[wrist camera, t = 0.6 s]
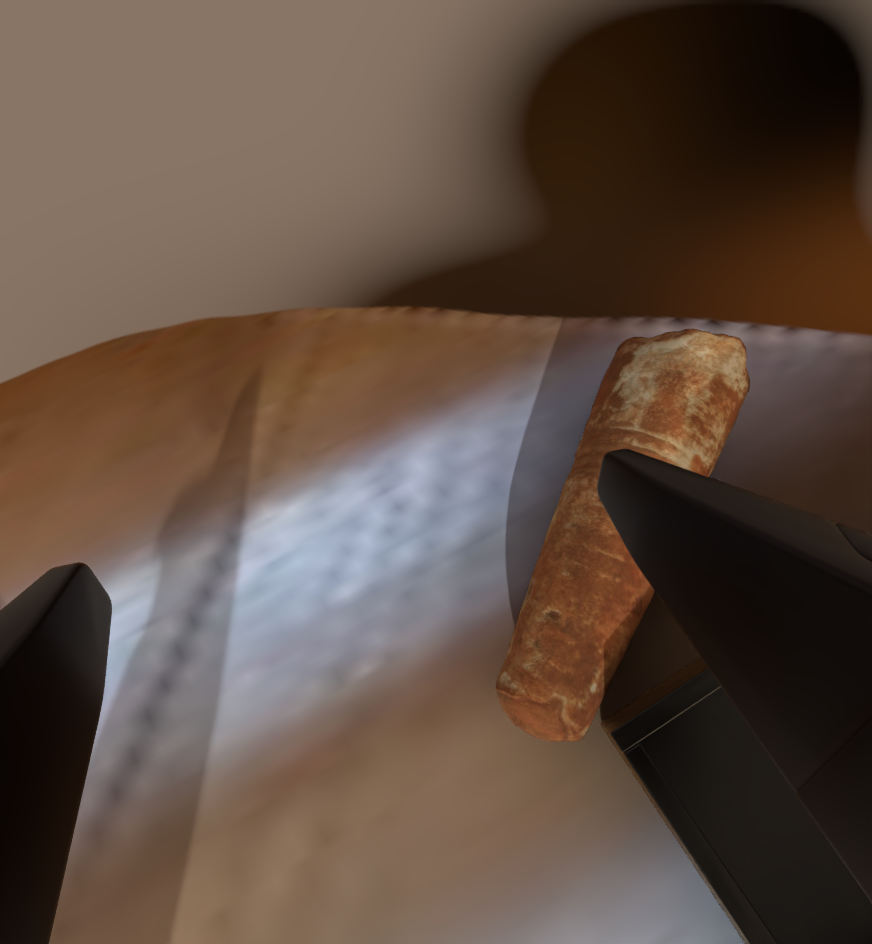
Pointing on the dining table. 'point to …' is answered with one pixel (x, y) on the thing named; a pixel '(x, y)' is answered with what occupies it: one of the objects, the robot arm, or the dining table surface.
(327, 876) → the dining table surface
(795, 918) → the bread tray
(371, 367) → the dining table surface
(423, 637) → the dining table surface
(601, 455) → the bread
